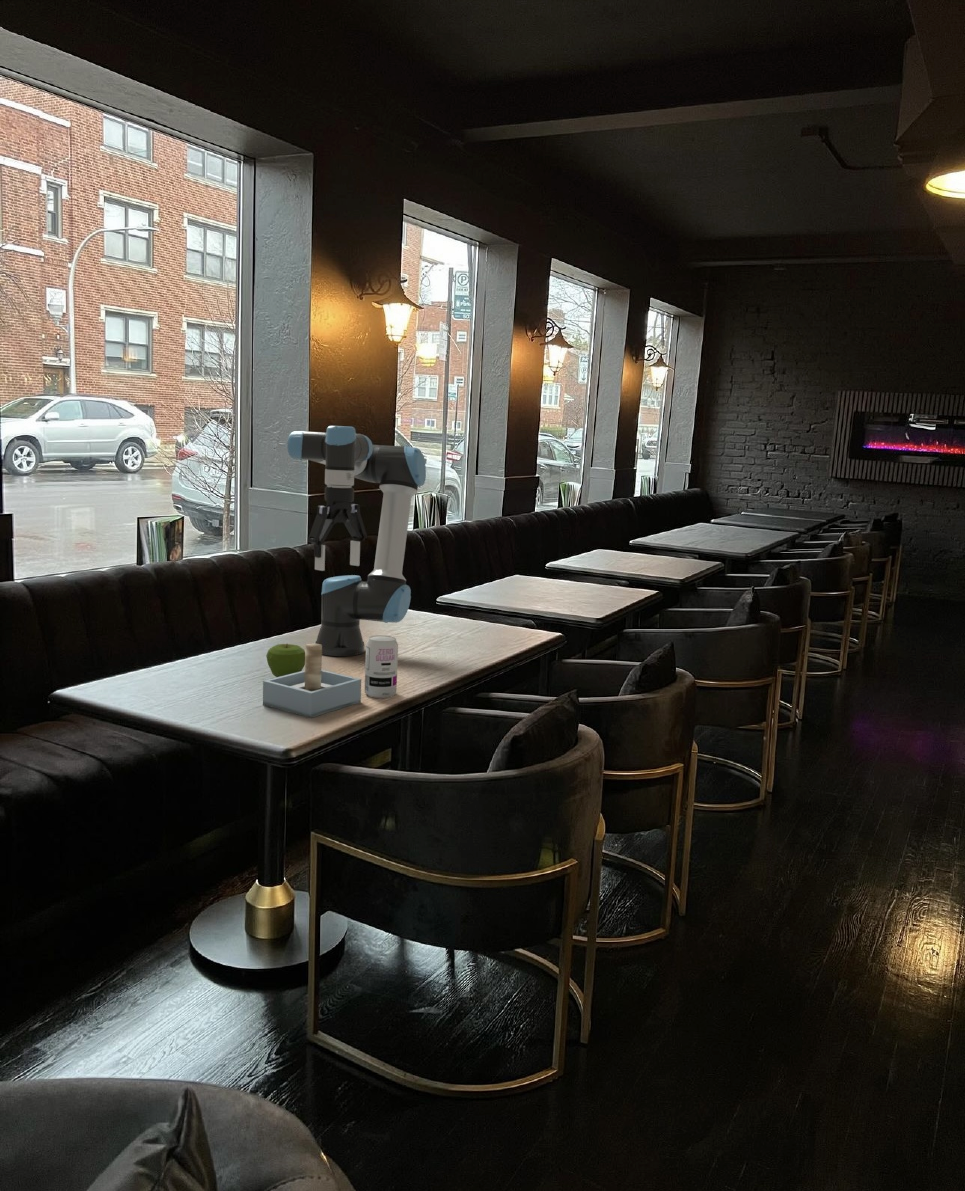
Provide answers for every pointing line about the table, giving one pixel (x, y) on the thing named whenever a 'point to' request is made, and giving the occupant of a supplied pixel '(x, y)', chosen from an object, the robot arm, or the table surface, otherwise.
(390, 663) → the supplement can
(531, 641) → the table surface
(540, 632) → the table surface
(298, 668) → the apple
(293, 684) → the crate
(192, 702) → the table surface
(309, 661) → the peg
